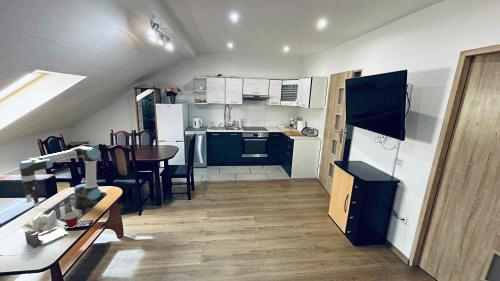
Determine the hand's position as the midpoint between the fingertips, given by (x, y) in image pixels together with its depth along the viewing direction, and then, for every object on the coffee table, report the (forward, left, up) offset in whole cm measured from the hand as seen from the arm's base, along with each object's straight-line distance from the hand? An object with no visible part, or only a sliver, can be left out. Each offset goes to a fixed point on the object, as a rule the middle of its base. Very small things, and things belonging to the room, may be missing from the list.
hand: (33, 204), depth 171 cm
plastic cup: (-17, +16, -26) cm, 35 cm away
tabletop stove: (0, +16, -26) cm, 31 cm away
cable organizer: (-7, -5, -27) cm, 28 cm away
